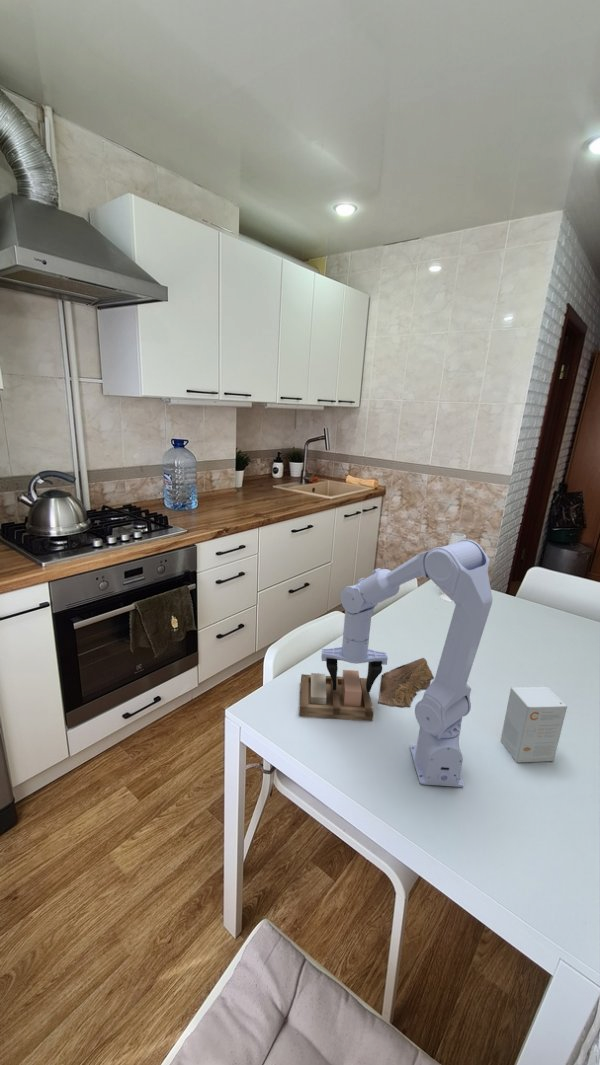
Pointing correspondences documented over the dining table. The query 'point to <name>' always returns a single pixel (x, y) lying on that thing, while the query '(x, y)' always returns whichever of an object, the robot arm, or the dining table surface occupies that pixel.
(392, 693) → the wooden fragment
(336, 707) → the rack
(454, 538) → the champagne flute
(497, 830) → the dining table surface
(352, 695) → the clay bar
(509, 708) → the small box
